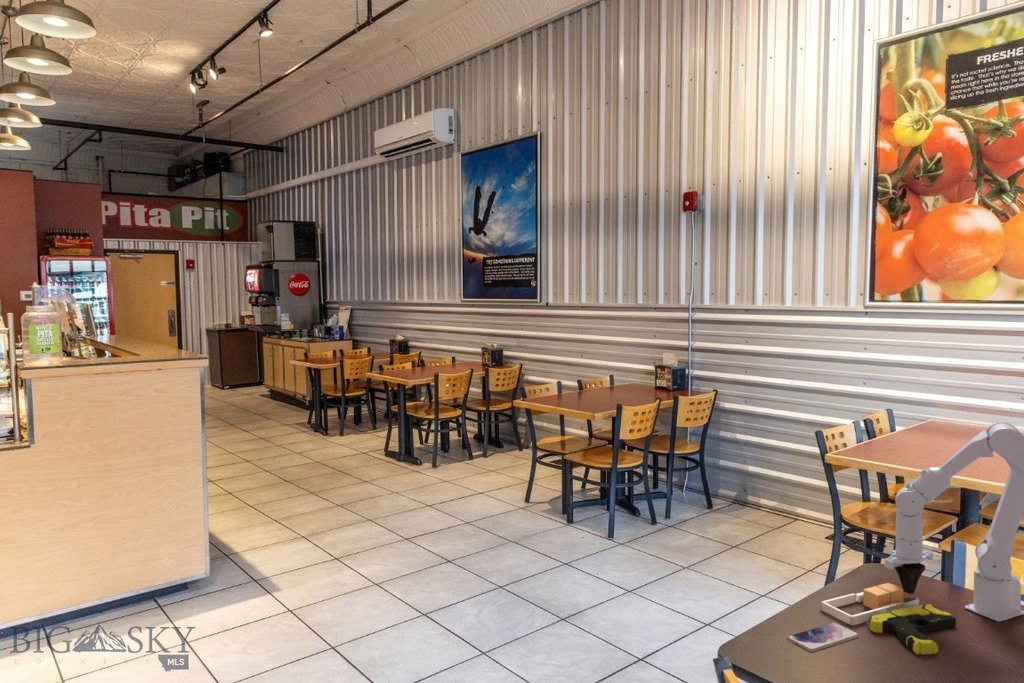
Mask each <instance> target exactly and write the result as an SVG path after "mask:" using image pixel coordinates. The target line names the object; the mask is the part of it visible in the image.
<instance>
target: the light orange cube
mask: <svg viewBox="0 0 1024 683" xmlns="http://www.w3.org/2000/svg"><path fill="white" fill-rule="evenodd" d="M876 587H879V588H881V589H883V590H886V591H888V592H890V604H893V603H896V602H900V601H903V600H904V591H903V588H902V587H900V586H897V585H895V584H892V583H890V582H887V583H882V584H878V585H876Z"/></svg>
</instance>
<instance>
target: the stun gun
mask: <svg viewBox="0 0 1024 683" xmlns="http://www.w3.org/2000/svg"><path fill="white" fill-rule="evenodd" d="M866 624H867V625H868V626H869V631H872V632H873V633H876V634H877V633H880V634H883V633H896V635H897V637H898V639H899V641H900V642H901V643H902V644H903V645H905V646H906V647H908V648H909V649H910V650H912V651H913V652H914V653H915V654H916V655H935V654H937V653H939V645H938V644H937V643H936V642H935V640H934V641H933V640H932V639H931V638H930V637H929V636H927V635H926V636H925V635H924V634H923V633H925V632H932V631H933V632H934V631H938V630H943V629H944V630H945V629H949V628H954V627H956V625H957V619H956V617H954V616H952V614H951V613H949V612H946V611H942V610H940V609H938V608H935V607H933V605H932V604H930V603H928V604H925V606H924V604H919V606H913V607H908V608H903V609H897V610H892V612H889V613H884V614H878V615H873V616H871V617H870V618H869V621H867V622H866Z"/></svg>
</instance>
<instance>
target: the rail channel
mask: <svg viewBox="0 0 1024 683" xmlns="http://www.w3.org/2000/svg"><path fill="white" fill-rule="evenodd" d="M855 603H859V604H860V603H863V591H862V592H859V593H855ZM919 605H920V598H918V597H915V596H914V597H912V598H911V597H910V598H908V599H903V601H900V602H896V603H893V604H889V605H885V606H882V607H885V608H886V609H885V613H889V612H892V610H897V609H903V608H908V607H913V606H919Z"/></svg>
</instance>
